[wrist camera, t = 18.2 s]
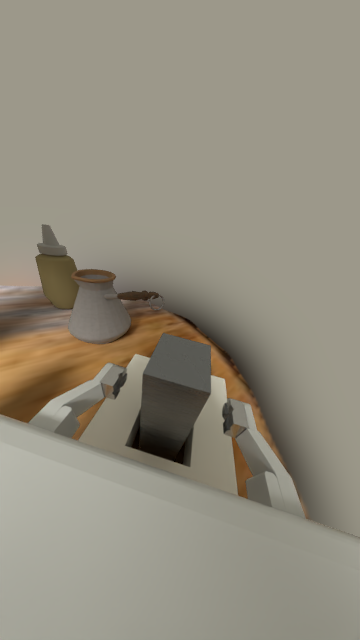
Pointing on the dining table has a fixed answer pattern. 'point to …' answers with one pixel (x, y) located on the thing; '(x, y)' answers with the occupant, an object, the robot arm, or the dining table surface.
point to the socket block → (200, 445)
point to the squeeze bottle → (56, 271)
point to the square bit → (173, 394)
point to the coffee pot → (101, 307)
